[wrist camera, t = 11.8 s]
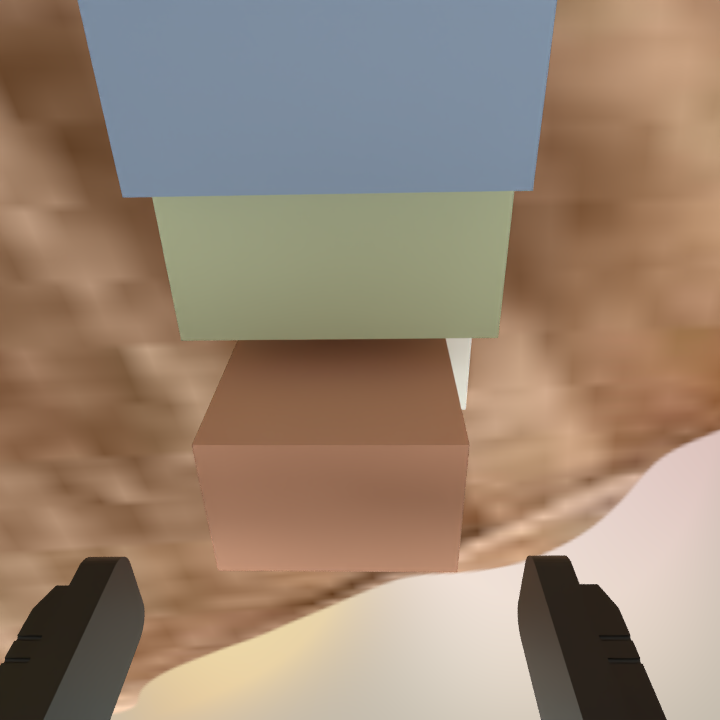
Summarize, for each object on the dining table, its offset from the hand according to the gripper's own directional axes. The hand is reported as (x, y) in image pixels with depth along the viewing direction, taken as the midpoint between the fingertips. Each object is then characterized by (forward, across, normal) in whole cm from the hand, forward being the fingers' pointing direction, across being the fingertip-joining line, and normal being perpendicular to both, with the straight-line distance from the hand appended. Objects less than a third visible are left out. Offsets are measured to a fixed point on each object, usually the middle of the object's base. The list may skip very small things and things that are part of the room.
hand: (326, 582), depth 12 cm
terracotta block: (+14, 0, 0) cm, 14 cm away
